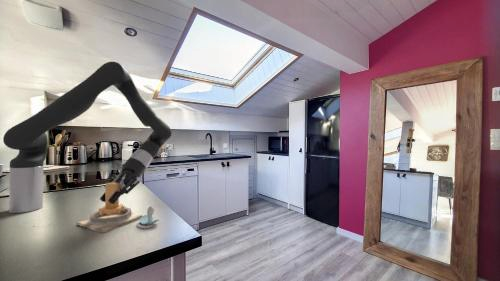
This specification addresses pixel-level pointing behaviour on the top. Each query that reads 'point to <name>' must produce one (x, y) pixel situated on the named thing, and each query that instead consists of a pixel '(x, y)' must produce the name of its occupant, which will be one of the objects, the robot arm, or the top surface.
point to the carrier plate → (109, 227)
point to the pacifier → (147, 219)
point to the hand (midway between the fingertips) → (106, 201)
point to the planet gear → (109, 207)
